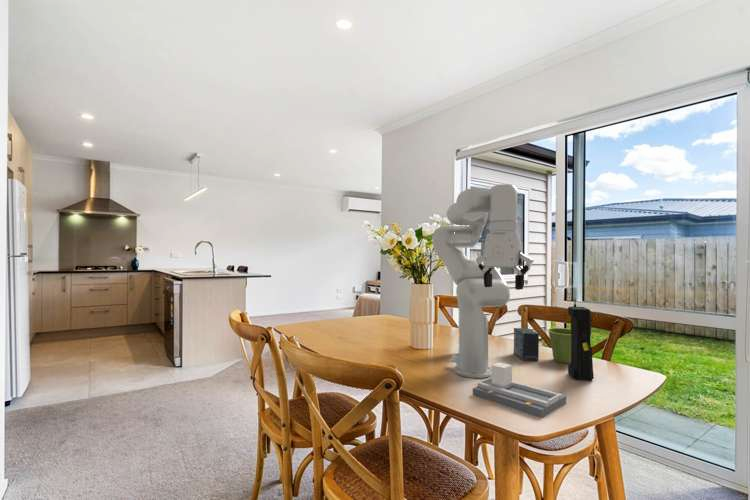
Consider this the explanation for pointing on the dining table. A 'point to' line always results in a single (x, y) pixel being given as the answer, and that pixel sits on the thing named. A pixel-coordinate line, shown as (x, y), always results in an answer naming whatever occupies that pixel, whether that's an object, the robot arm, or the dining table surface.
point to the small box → (526, 344)
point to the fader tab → (502, 375)
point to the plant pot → (561, 344)
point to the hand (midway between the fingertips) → (503, 288)
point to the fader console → (521, 397)
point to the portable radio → (580, 344)
